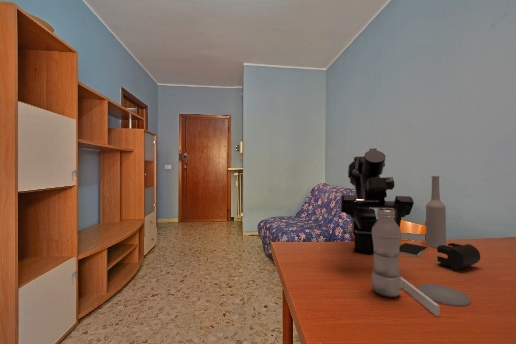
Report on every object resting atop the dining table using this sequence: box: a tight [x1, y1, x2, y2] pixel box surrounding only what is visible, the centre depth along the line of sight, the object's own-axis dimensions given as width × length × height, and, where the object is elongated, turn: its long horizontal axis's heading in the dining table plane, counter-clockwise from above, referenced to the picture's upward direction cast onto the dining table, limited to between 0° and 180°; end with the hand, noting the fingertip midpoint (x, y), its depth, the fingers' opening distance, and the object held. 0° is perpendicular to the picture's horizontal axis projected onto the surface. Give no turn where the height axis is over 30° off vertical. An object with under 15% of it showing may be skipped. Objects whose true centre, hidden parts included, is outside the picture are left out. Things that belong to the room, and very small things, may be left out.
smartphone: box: [399, 242, 428, 258], centre depth 93 cm, size 8×1×15 cm
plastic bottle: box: [370, 208, 403, 298], centre depth 58 cm, size 6×7×20 cm
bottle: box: [425, 175, 447, 249], centre depth 99 cm, size 7×7×28 cm
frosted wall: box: [400, 275, 441, 317], centre depth 58 cm, size 18×1×2 cm, turn 178°
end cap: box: [436, 242, 481, 271], centre depth 76 cm, size 10×7×7 cm
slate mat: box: [416, 283, 472, 307], centre depth 58 cm, size 10×10×1 cm
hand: (379, 229), depth 66 cm, fingers open, 9 cm apart
